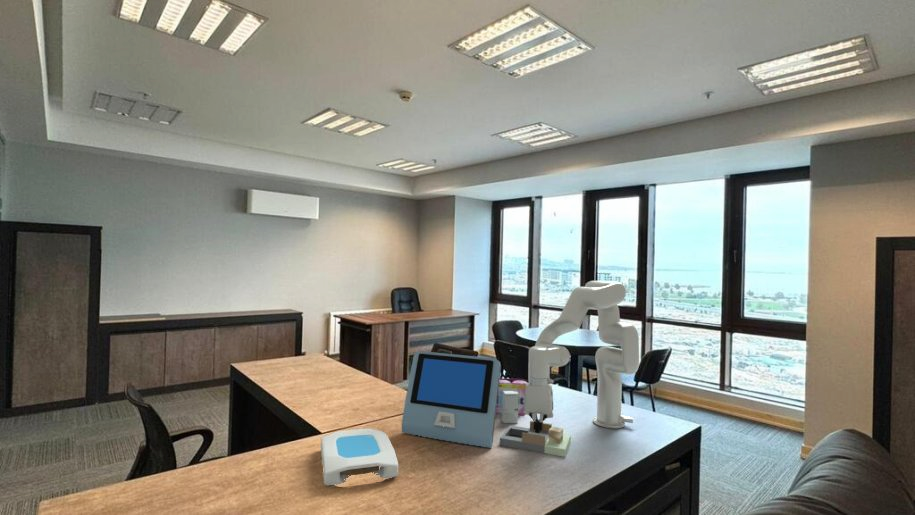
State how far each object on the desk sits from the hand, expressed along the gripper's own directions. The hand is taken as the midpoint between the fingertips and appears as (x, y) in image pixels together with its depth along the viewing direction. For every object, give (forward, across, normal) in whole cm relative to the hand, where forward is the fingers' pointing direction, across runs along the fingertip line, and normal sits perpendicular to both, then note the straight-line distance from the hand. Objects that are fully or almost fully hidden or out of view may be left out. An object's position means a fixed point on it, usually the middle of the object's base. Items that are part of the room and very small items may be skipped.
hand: (538, 431), depth 158 cm
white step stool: (+4, +49, +41) cm, 65 cm away
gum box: (+5, +23, -29) cm, 38 cm away
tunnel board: (+4, +1, 0) cm, 4 cm away
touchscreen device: (+4, +32, +5) cm, 32 cm away
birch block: (+2, -6, +1) cm, 7 cm away
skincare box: (+4, +15, -18) cm, 24 cm away
